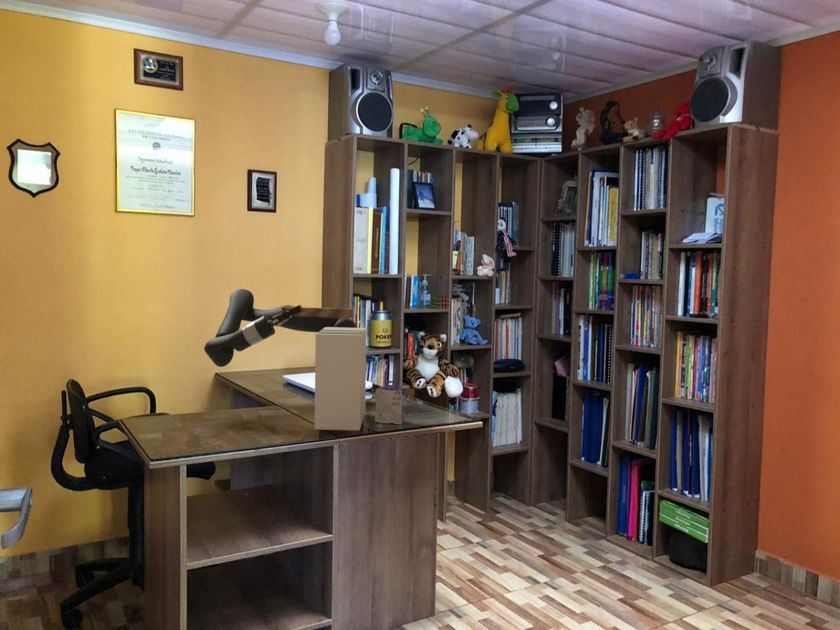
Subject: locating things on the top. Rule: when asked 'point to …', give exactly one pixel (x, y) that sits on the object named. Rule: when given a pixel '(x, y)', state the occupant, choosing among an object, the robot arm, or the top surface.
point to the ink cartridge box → (390, 404)
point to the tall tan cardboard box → (340, 378)
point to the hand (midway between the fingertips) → (300, 307)
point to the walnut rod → (322, 312)
